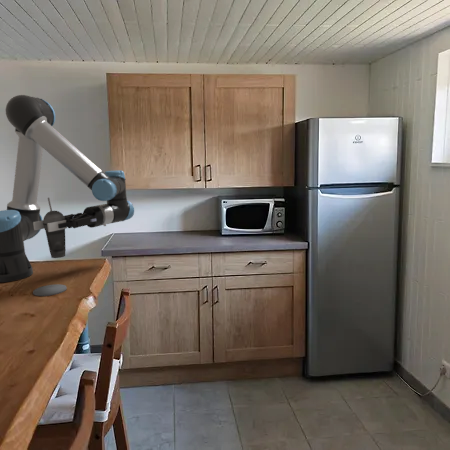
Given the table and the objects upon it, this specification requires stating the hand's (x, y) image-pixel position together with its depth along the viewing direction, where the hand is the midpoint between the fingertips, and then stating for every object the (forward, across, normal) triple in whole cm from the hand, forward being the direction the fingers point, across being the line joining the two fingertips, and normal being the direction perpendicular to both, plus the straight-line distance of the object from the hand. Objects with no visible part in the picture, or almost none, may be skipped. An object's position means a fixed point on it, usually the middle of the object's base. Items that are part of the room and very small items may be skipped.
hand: (41, 226), depth 147 cm
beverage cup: (-5, 0, -11) cm, 12 cm away
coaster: (+3, -5, -20) cm, 21 cm away
